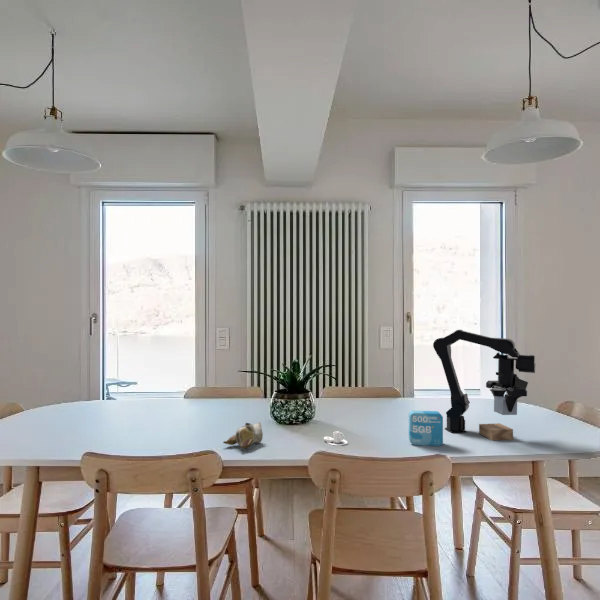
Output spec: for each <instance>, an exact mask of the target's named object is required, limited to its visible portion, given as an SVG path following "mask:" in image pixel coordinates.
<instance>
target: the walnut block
mask: <svg viewBox="0 0 600 600" xmlns="http://www.w3.org/2000/svg"><path fill="white" fill-rule="evenodd" d="M478 431H479V432H478V434H479V435H480V434H481V435H480V436H482V435H483V436H482V437H484V436H485V438H486V437H487V438H486V439H488V440H490V441H507V440H508V441H510V440H511V441H512V440H514V429H513V428H511V427H508V426H507V425H504V424H502V423H499V422H498V423H479V424H478Z"/></svg>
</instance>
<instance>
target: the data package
mask: <svg viewBox="0 0 600 600" xmlns="http://www.w3.org/2000/svg"><path fill="white" fill-rule="evenodd" d="M408 412H409V413H408V439H409V442H410V444H411V445H413V446H430V447H431V446H432V447H433V446H434V447H440V446H442V445H443V443H444V417H443V415H442V414H441V413H440V412H439V411H437V410H410V411H408Z"/></svg>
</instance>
